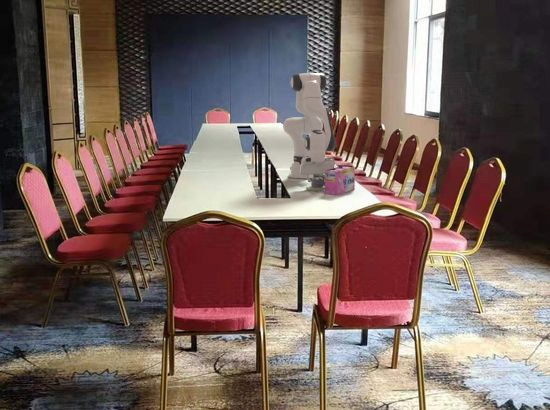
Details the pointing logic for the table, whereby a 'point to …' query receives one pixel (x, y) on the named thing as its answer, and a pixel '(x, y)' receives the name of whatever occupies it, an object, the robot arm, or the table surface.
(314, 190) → the post board
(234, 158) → the table surface
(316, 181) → the collar
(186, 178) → the table surface
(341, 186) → the gum box
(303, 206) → the table surface
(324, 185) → the handheld radio
